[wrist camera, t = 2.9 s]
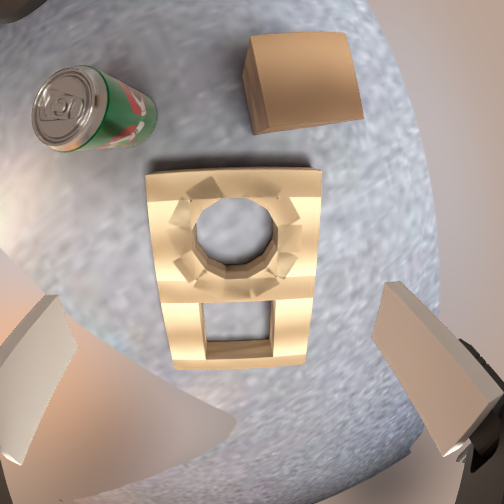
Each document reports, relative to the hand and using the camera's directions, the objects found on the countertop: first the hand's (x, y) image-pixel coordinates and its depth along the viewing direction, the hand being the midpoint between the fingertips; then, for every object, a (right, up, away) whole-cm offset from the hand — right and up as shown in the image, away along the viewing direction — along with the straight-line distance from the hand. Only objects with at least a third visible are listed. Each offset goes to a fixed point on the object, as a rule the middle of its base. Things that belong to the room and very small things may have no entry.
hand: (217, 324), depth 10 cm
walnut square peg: (+4, +16, +12) cm, 20 cm away
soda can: (-9, +14, +11) cm, 21 cm away
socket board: (0, +1, +17) cm, 17 cm away
